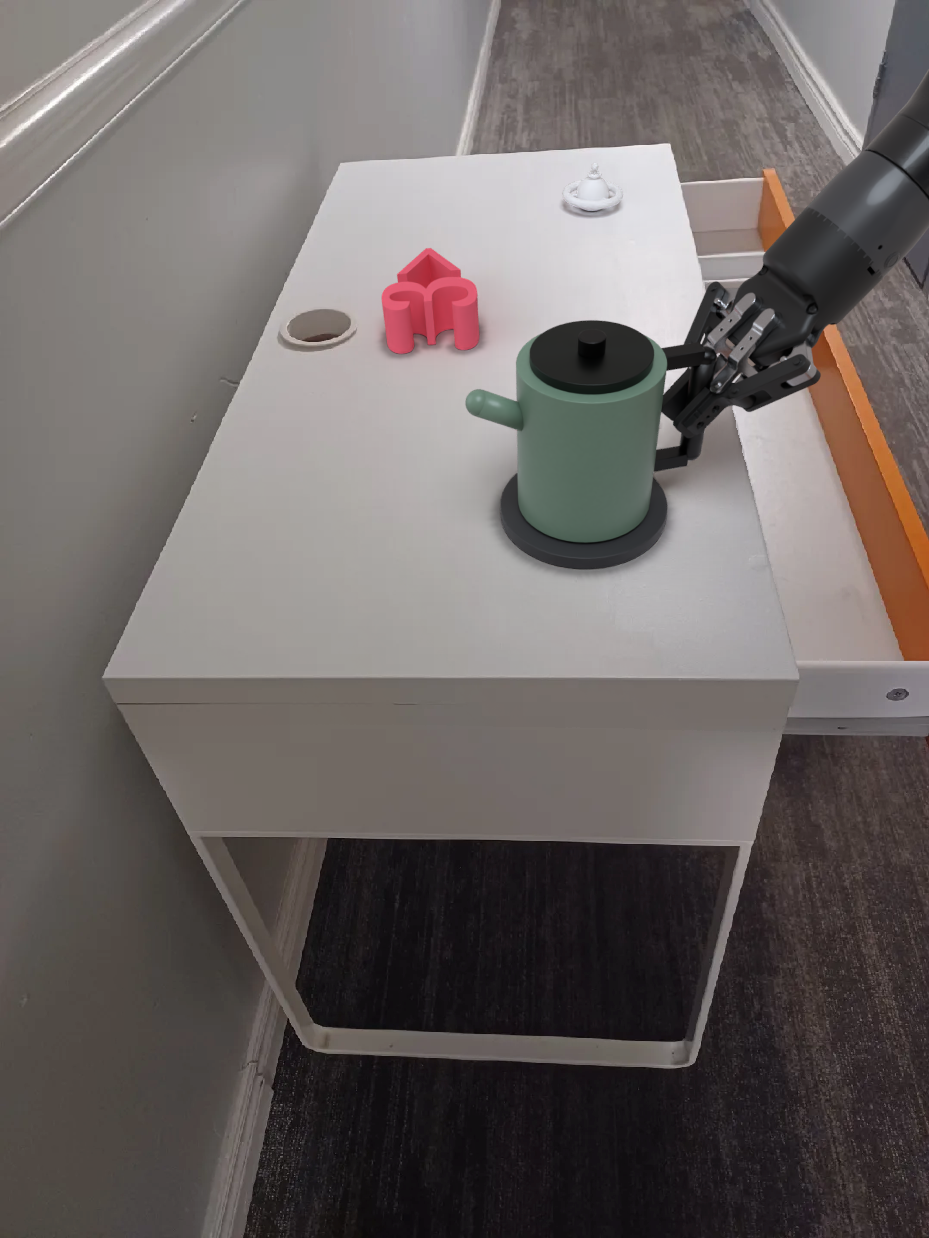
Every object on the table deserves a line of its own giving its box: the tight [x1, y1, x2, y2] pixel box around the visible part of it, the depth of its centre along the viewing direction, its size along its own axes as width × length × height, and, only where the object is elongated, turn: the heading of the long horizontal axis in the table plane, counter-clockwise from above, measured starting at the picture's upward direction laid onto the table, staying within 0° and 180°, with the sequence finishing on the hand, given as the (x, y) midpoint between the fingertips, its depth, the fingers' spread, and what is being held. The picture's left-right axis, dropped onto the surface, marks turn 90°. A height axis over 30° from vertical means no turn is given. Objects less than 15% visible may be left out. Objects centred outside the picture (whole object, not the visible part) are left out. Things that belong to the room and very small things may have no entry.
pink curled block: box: [381, 247, 480, 355], centre depth 97 cm, size 14×10×5 cm
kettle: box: [464, 319, 718, 543], centre depth 68 cm, size 19×11×15 cm, turn 102°
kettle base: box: [499, 471, 668, 570], centre depth 75 cm, size 14×14×1 cm
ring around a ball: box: [561, 162, 624, 212], centre depth 115 cm, size 8×6×8 cm
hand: (673, 422), depth 70 cm, fingers closed on kettle, 2 cm apart
